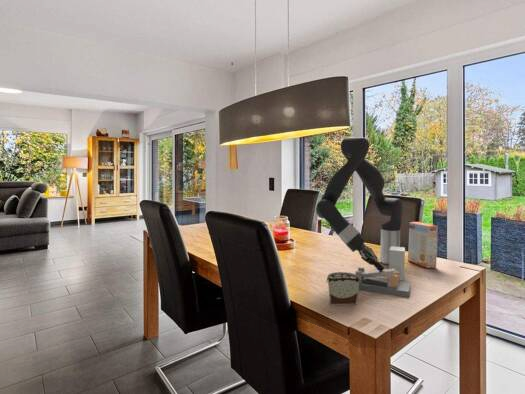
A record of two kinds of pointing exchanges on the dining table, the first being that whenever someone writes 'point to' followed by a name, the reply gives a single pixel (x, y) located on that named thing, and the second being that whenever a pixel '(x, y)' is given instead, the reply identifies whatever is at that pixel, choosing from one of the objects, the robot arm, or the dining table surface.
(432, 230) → the cracker box
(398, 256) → the small box
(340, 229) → the robot arm
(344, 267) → the dining table surface
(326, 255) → the dining table surface
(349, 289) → the food container
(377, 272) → the strap
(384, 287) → the mounting plate
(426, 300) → the dining table surface
